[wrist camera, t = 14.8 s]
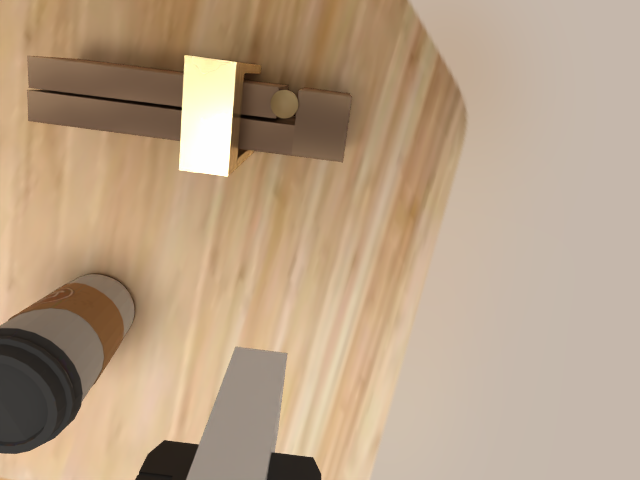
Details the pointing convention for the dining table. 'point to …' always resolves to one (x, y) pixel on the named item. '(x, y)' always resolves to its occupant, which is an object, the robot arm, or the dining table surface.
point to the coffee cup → (57, 357)
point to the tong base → (255, 132)
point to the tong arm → (133, 83)
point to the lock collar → (212, 115)
